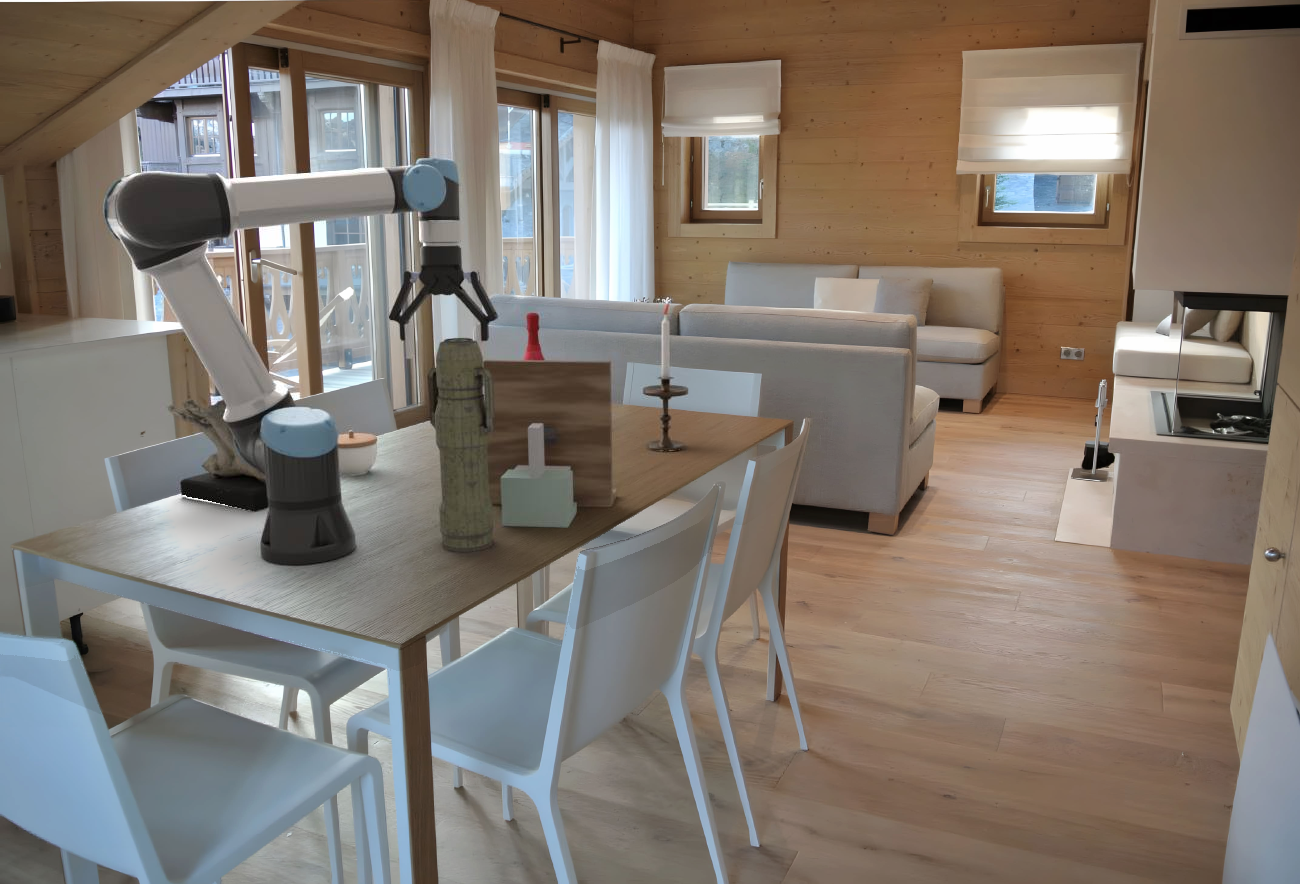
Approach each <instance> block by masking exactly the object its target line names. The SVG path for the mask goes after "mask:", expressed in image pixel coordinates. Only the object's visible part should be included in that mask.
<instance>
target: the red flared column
mask: <svg viewBox="0 0 1300 884" xmlns="http://www.w3.org/2000/svg"><path fill="white" fill-rule="evenodd" d="M525 319H526V330H527V331H528V332H527V334H528V335H527V337H528V338H527V346H526V349H525V354H524V357H523V359H522V360H546V359H545V357H544V355H543V352H542V347H541V345H540V340H539V339H540V338H539V330H540V325H539V324H540V323H539V322H540V315H539V314H538V313H536V312H529V313H527V314H526V317H525Z"/></svg>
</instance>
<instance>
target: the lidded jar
mask: <svg viewBox="0 0 1300 884" xmlns="http://www.w3.org/2000/svg"><path fill="white" fill-rule="evenodd" d="M338 453H339V468H340V476H345V477H356V476H358V477H359V476H362V475H365V474H368V473H369V471H370V470H371V468H373V466H374V464H375V463H376V460H377V457H378V456H377V454H378V437H377V436H376V435H375V434H372V433H363V432H359V433H358V432H355V431H354V430H348V433H343V434H338Z"/></svg>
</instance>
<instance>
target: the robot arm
mask: <svg viewBox="0 0 1300 884" xmlns="http://www.w3.org/2000/svg"><path fill="white" fill-rule="evenodd" d="M102 207H103V208H102V209H103V217H104V221H105V224H106V226H107V228H108V230H109V231H110V233H111V234H112V235H113V236H114V238H115V239H117V240H118V241H119V242H120V243H121V244H122V245H123V247H124V250H126V252H127V254H128V256H129V258H130V259H131V261H132V263H133V264H134V267H135V268H136V269H137V272H139V273H142V274H146V275H148V276H150V277H152V278H153V280H154V281H155V282H156V284H157V285H158V287H159V290H160V291H161V293H162V295H163V296H164V298H165V300H166V302H167V303H168V306H169V307H170V309H171V310H172V313H173V314H174V316H175V318H176V319H177V321H178V323H179V324H180V327H181V328H182V329H183V331H184V333H185V335H186V337H187V338H188V341H189V342H190V344H191V346H192V348H193V349H194V351H195V353H196V355H197V356H198V358H199V360H200V362H201V363H202V365H203V367H204V368H205V370H206V372H207V373H208V375H209V377H210V379H211V380H212V382H213V384H214V385H215V387H216V389H217V391H218V393H219V395H220V397H221V398H222V400H224V402H225V404H226V410H225V413H224V416H223V419H224V421H225V422H226V424H227V426H228V428H229V429H230V431H231V433H232V435H233V440H234V444H235V447H236V450H237V452H238V453H239V455H240V456H241V458H242V459H243V460H244V461H245V462H246V463H247V464H249V465H250V466H251V467H253V468H255V469H257V470H259V471H261V472H262V473H264V474H265V477H266V488H267V499H268V508H267V513H266V514H267V515H266V518H265V523H264V526H263V529H262V533H261V538H260V542H259V544H260V556H261V558H262V559H263V560H265V561H267V562H268V563H274V564H279V565H295V566H296V565H310V564H316V563H323V562H328V561H332V560H335V559H338V558H342V557H343V556H346V555H348V554H350V553H352V552H353V551H354V550H355V548H357V543H356V532H355V530H354V528H353V526H352V523H351V520H350V518H349V515H348V514H347V512H346V509H345V507H344V504H343V499H342V488H341V487H342V484H341V475H340V468H339V453H338V435H339V432H338V430H337V425H336V421H335V418H334V417H333V416H332V414H330V413H329V412H327V411H326V410H323V409H319V408H312V407H305V406H298V405H297V404H296V402H295V400H294V398H293V396H292V394H291V392H290V391H289V388H287V387H286V386H285V385H284V386H283V385H280V384H277V383H275V382H274V380H273V378H272V377H271V376H272V375H270V373H269V370H268V369H267V367H266V366H265V364H264V362H263V360H262V358H261V356H260V354H259V352H258V351H257V349H256V346H255V345H254V343H253V341H252V339H251V337H250V336H249V333H248V332H247V330H246V328H245V327H244V324H243V323H242V321H241V319H240V317H239V315H238V314H237V312H236V310H235V307H234V306H233V304H232V303H231V301H230V299H229V297H228V295H227V293H226V292H225V290H224V288H223V286H222V284H221V282H220V281H219V278H218V276H217V275H216V273H215V271H214V269H213V267H212V266H211V264H210V262H209V260H208V258H207V256H206V255H207V250H208V247H209V243H210V241H212V240H218V239H219V240H220V239H227V238H231V237H232V235H233V234H234V233H235V232H236V231H238V230H239V231H240V230H249V229H257V228H267V227H278V226H286V225H296V224H306V223H313V222H324V221H334V220H344V219H351V218H352V219H354V218H362V217H371V216H380V215H381V216H383V215H391V214H392V215H394V214H404V213H405V214H406V213H415V212H417V213H418V216H417V217H418V232H419V233H418V234H419V242H420V243H421V244H422V246H420V247H419V251H420V252H419V255H420V271H419V272H418V271H413V270H406V271H404V273H403V281H402V285H401V287H400V290H399V292H398V293H397V294H398V295H397V297H396V299H395V301H394V303H393V306H392V308H391V311H390V313H389V314H388V319H389V320H390V321H393V322H396V323H398V325H399V339H400V341H403V342H405V359H407V360H410V359H413V358H415V351H414V350H415V349H414V331H413V329H414V327H413V322H409V320H411V318H412V316H413V315H414V314H415V313H416V311H418V309H419V308H420V306H421V305H422V304H423V303H424V301H425V300H426V299H427V298H428V297H429V296H430V294H431V295H433V296H440V295H443V296H451V295H453V294H454V295H455V297H456V298H458V299H459V300H460V301H461V302H462V303H463V305H464V306H465V307H466V308H467V309H468V310H469V312H470V313H471V314H472V315H473V316H474V317H475V318H476V319H477V320H478V322H479V323H477V324H476V325H475V326H476V328H475V329H476V331H475V333H476V341H477V343H478V345H479V348H480V351H481V354H482V357H483V359H484V358H485V343H484V342H487V341H489V338H490V335H489V334H490V332H489V324H490V323H491V322H493V321H496V320H498V318H499V315H498V312H497V311H496V309H495V307H494V305H493V303H492V301H491V300H490V298H489V296H488V294H487V291H486V290H485V288H484V286H483V285H482V282H481V277H480V272H479V270H473V271H470V272H469V271H468V272H464V270H463V261H462V247H461V246H460V245H459V244H458V243H460V242H461V241H462V240H461V239H462V237H461V235H462V234H461V221H460V220H461V219H460V182H459V171H458V165H457V162H456V161H454V160H453V159H451V158H439V157H438V158H435V157H434V158H433V157H431V158H426V157H425V158H423V157H422V158H418V159H417V160H416V162H415V164H411V165H401V166H390V167H373V166H371V167H359V168H358V167H357V168H356V169H349V170H348V169H346V170H333V171H332V170H331V171H321V172H319V171H318V172H307V173H293V174H290V173H289V174H281V175H280V174H279V175H266V176H265V175H264V176H252V177H239V178H227V179H226V178H225V177H223V176H222V175H221V174H219V172H213V173H211V172H210V173H186V172H185V173H184V172H183V173H180V172H172V171H171V172H170V171H161V170H151V171H144V172H143V171H142V172H141V171H140V172H135V173H131V174H127V175H125V176H123V177H122V178H119V179H118V180H117V181H116V182H115V183H113V184H112V185H111V186H110V188H109V189H108V191H107V193H106V195H105V197H104V199H103V206H102ZM418 279H419V281H420V282H421V283H422V284H423V287H422V288H421V290H420V291H418V294H417V296H416V297H415V298H414V299H413V300H412V302H411V303H410V304H409V305H408V307H407V308H406V309H405V311H404V312H403V313H402V310H403V308H404V306H405V304H406V302H407V300H408V297H409V294H410V292H411V290H412V288H413V286H414V285H413V284H415V283H416V282H417V280H418ZM465 279H466V281H467V282H468V284H471V285H472V288H473V290H474V292H475V294H476V296H477V298H478V300H479V301H480V304H481V306H482V307H483V309H484V311H485V313H486V314H485V313H484V312H483V310H482V309H481V308H480V307H479V306H478V305H477V303H476V302H475V301H474V300H473V299H472V297H471V296H470V295H469V294H468V293H467V291H466V290H465V289H464V287H463V286H462V283H464V280H465ZM401 313H402V314H401Z"/></svg>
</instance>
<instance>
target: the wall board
mask: <svg viewBox="0 0 1300 884" xmlns="http://www.w3.org/2000/svg"><path fill="white" fill-rule="evenodd" d="M483 367H484V368H485V369H488V370H489V372H490V373H491V375H492V376H493V389H494V415H495V419H494V431H492V432H489V434H490V442H489V445H488V447H487V455H488V480H489V498H490V500H491V503H492V505H501V506H502V502H501V477H502V476H503V475H504V474H505V473H506V472H507V471H508V470H514V469H515V468H516V467H517V466H518V465H529V453H528V427H529V426H530V425H531V424H532V423H543V428H544V463H545V466H571V471H573V502H577V507H581V508H582V507H585V508H590V507H592V508H612V506H613V505H614V502H615V500H616V499H617V496H618V494H617V493H618V490H617V489H618V488H614V487H613V428H612V426H613V425H612V424H613V423H612V422H613V420H612V419H613V418H612V415H613V413H612V361H611V360H546V359H545V360H523V359H522V360H521V359H520V360H519V359H485V360H483ZM483 394H485V379H484V386H483ZM484 401H485V404H486V400H485V399H484Z"/></svg>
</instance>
